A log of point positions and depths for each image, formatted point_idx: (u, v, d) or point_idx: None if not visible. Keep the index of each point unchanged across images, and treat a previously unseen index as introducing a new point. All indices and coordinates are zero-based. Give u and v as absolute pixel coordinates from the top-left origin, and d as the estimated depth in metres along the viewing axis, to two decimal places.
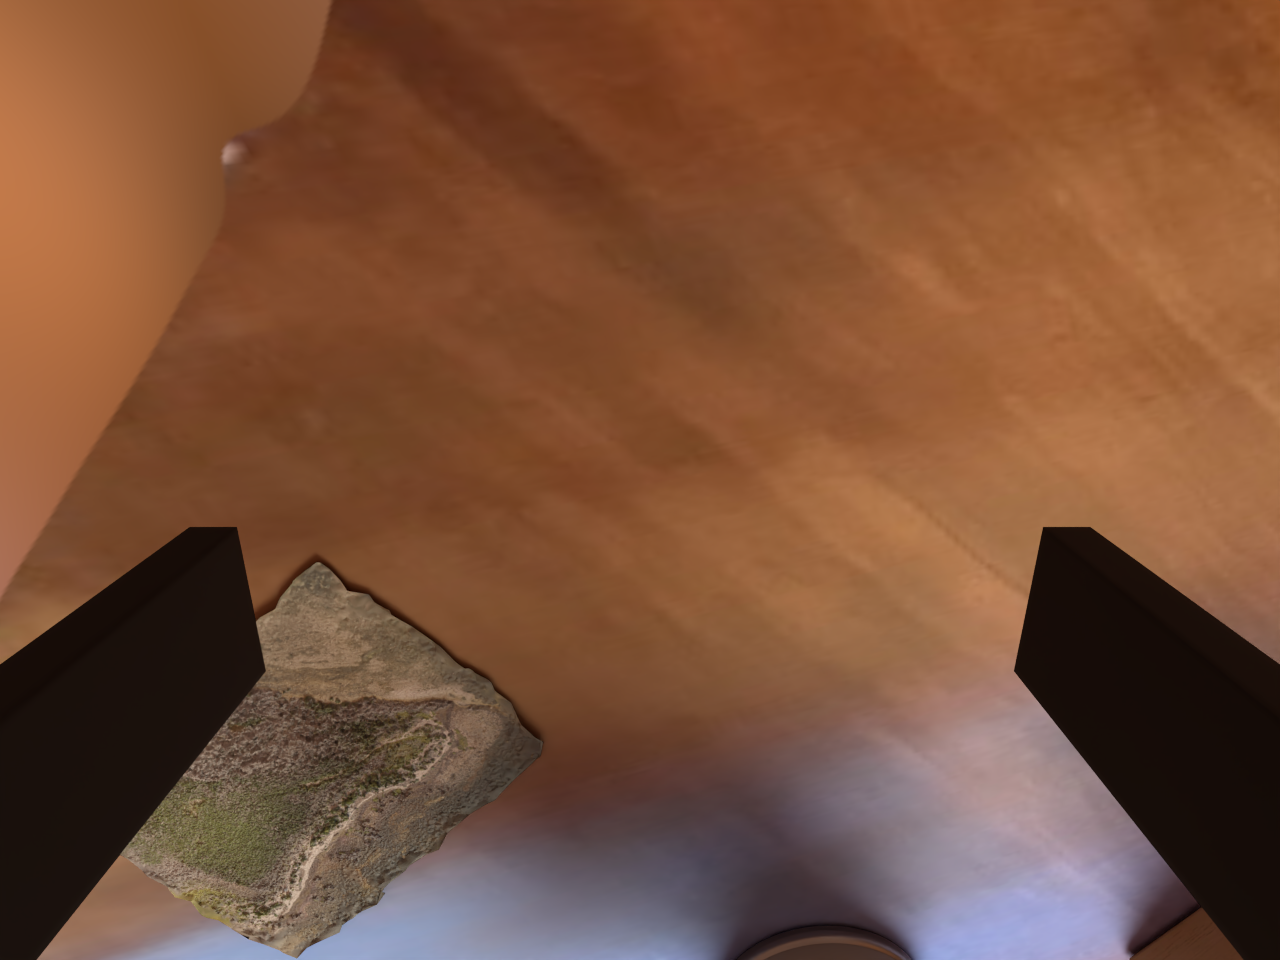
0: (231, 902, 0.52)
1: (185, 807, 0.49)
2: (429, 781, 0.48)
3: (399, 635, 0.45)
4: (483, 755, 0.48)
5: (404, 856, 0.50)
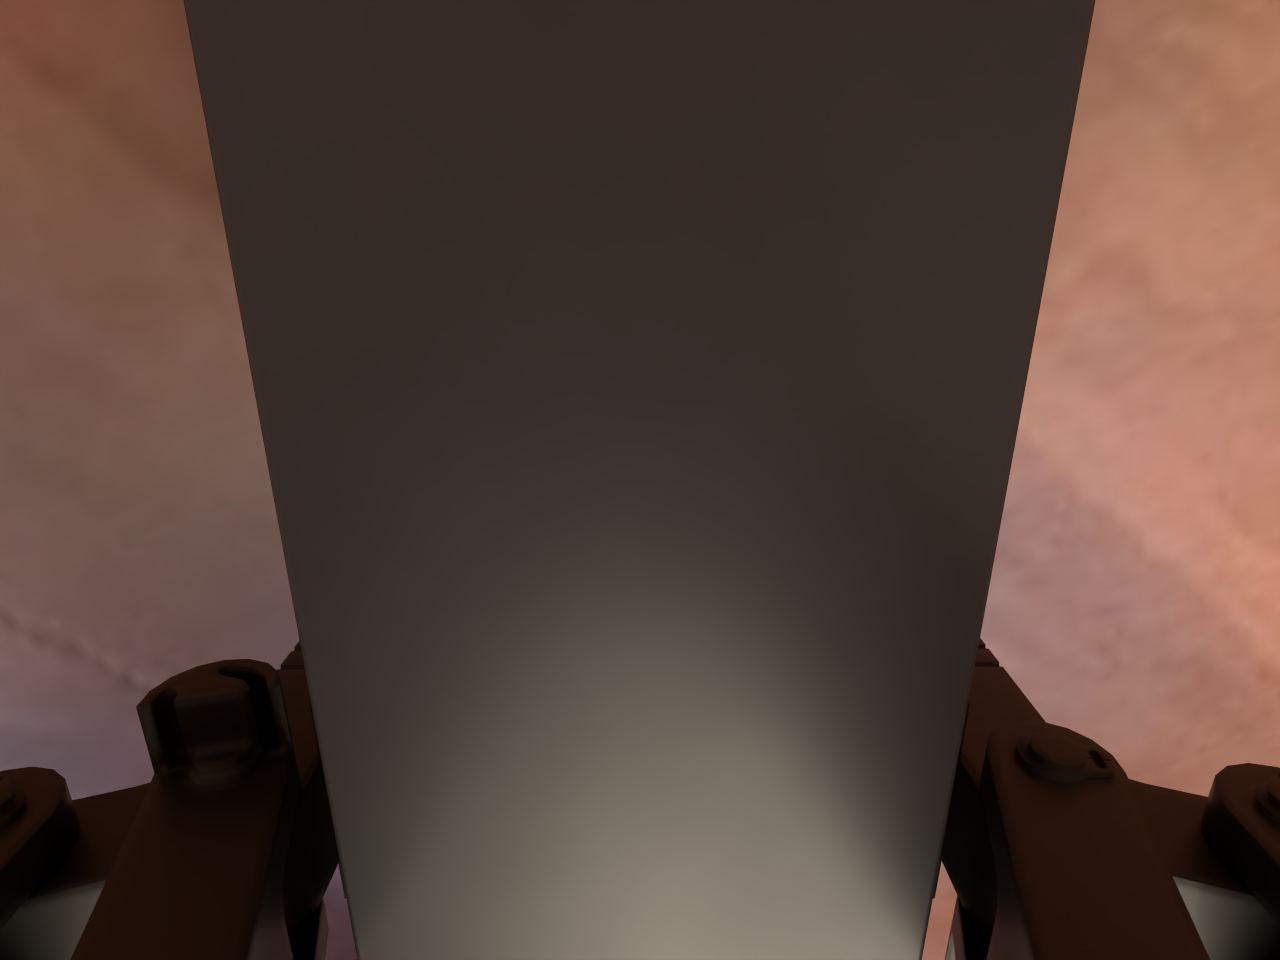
0: None
1: None
2: None
3: None
4: None
5: None
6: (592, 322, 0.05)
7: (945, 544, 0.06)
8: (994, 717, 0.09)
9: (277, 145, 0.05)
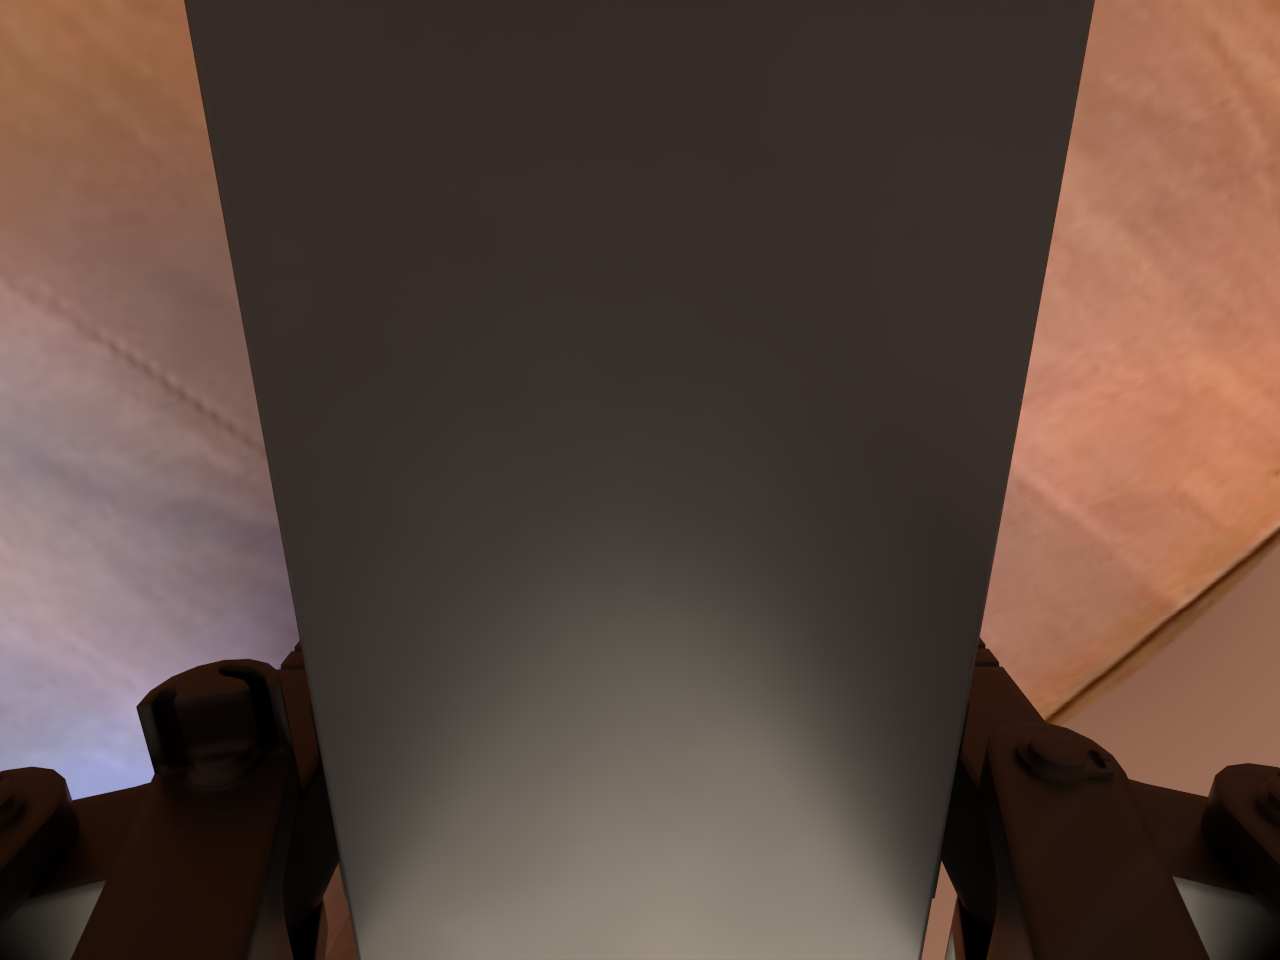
0: None
1: None
2: None
3: None
4: None
5: None
6: (592, 322, 0.05)
7: (945, 543, 0.06)
8: (994, 717, 0.09)
9: (277, 144, 0.05)
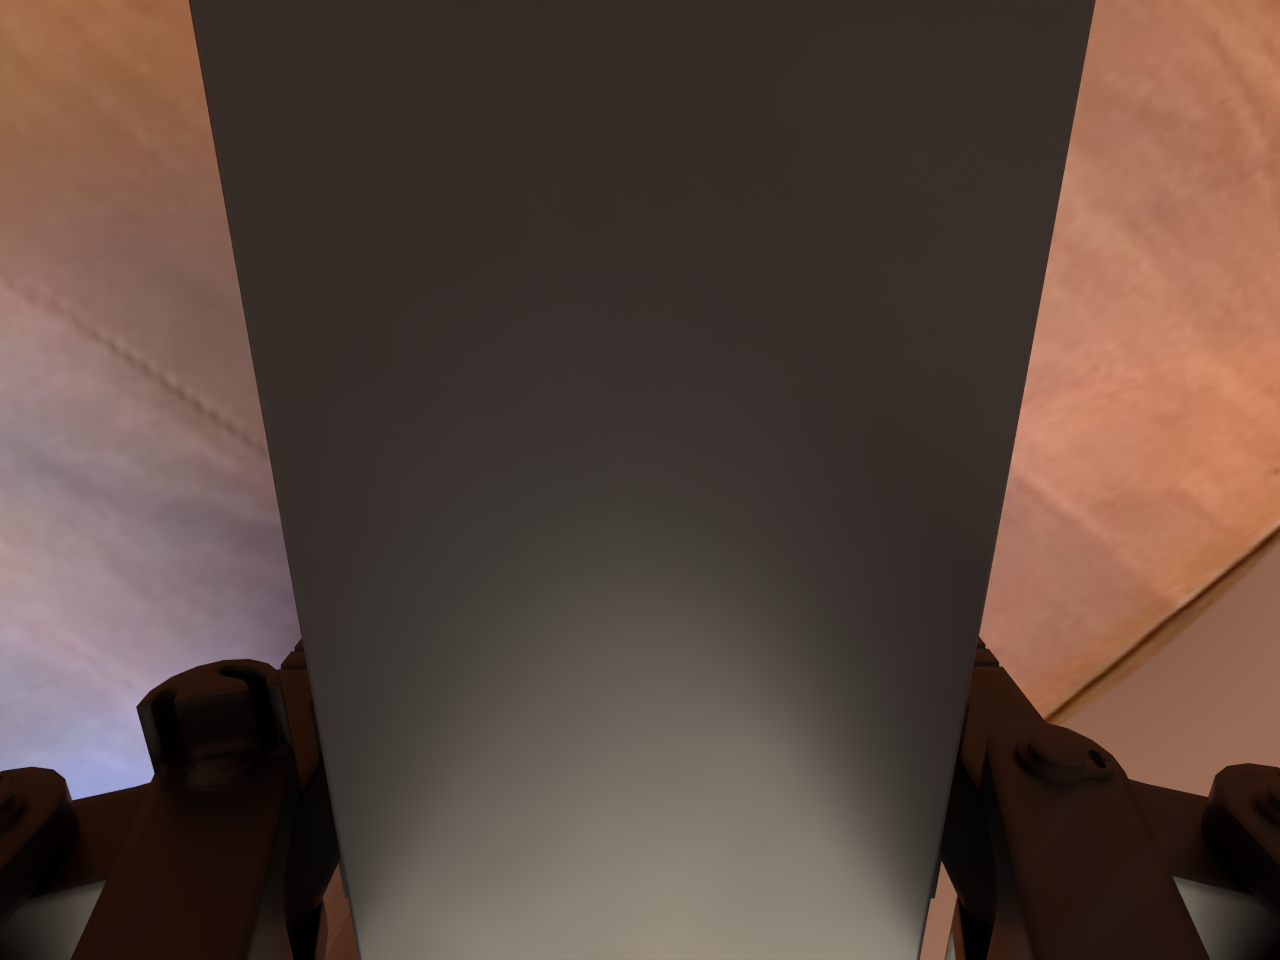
0: None
1: None
2: None
3: None
4: None
5: None
6: (593, 318, 0.05)
7: (945, 542, 0.06)
8: (994, 717, 0.09)
9: (281, 142, 0.05)
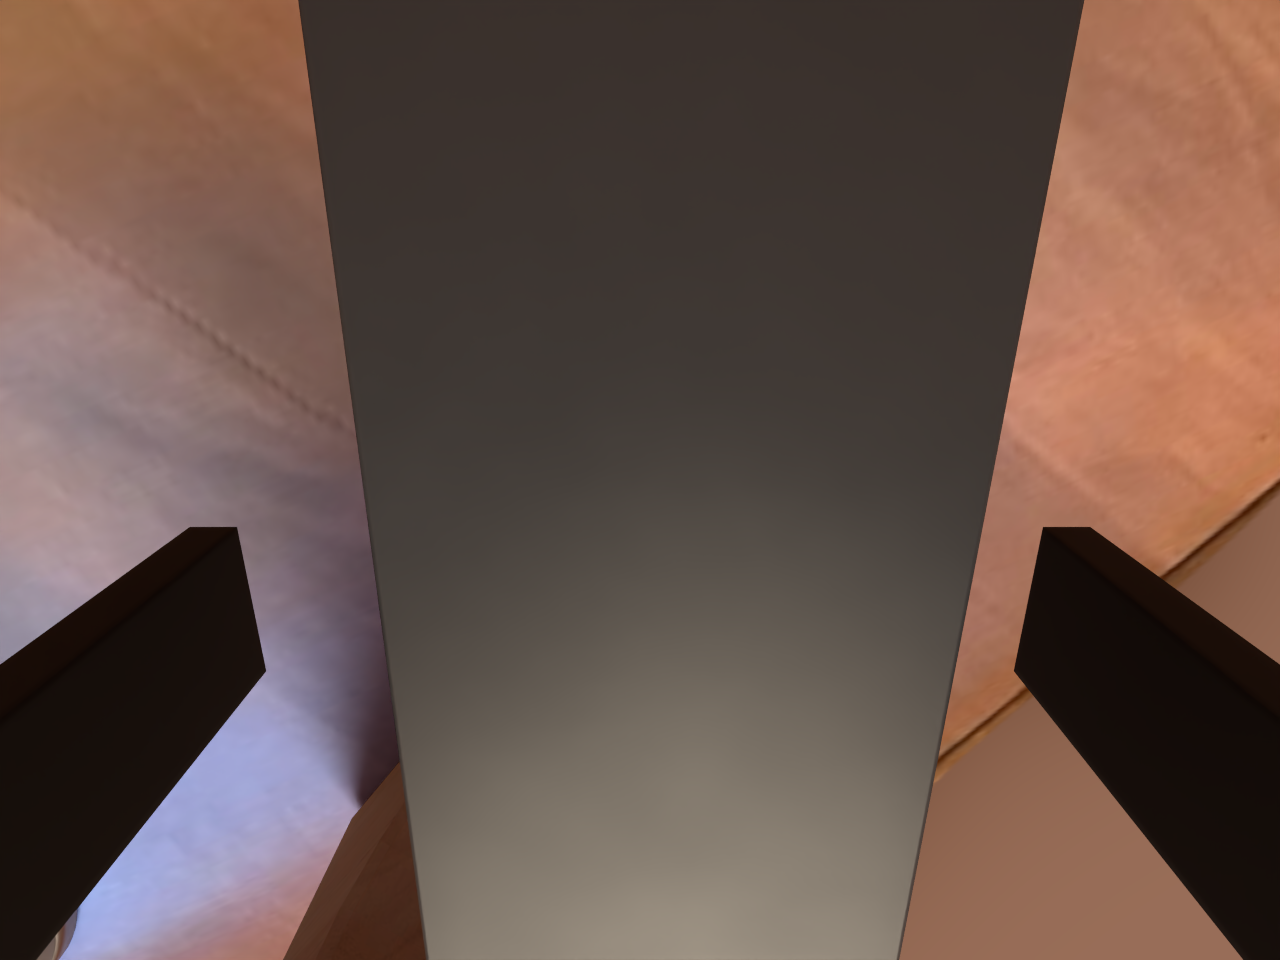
0: None
1: None
2: None
3: None
4: None
5: None
6: (640, 161, 0.05)
7: (962, 385, 0.06)
8: None
9: None
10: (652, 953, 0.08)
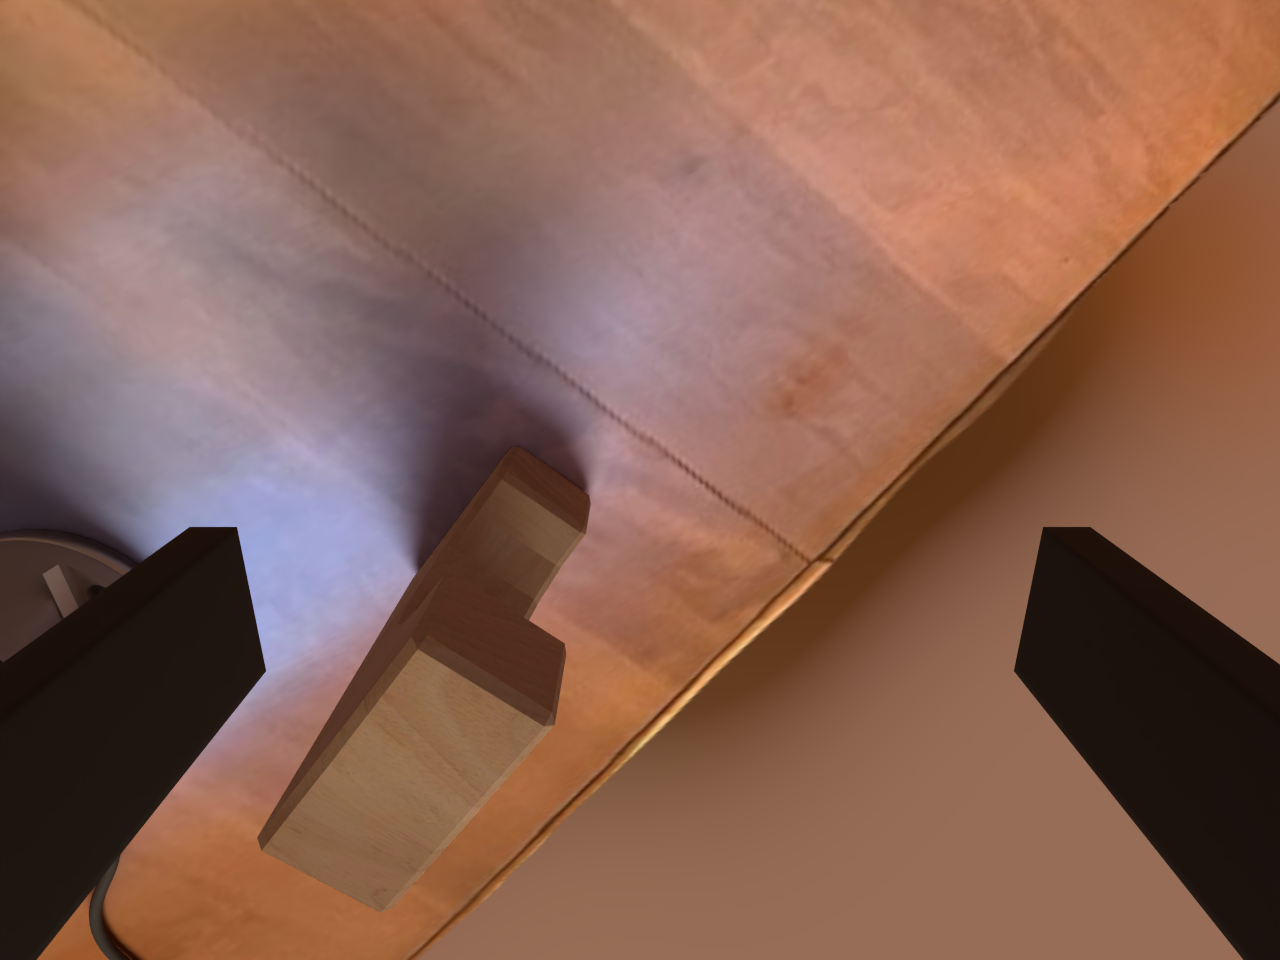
0: None
1: None
2: None
3: None
4: None
5: None
6: None
7: None
8: None
9: None
10: None
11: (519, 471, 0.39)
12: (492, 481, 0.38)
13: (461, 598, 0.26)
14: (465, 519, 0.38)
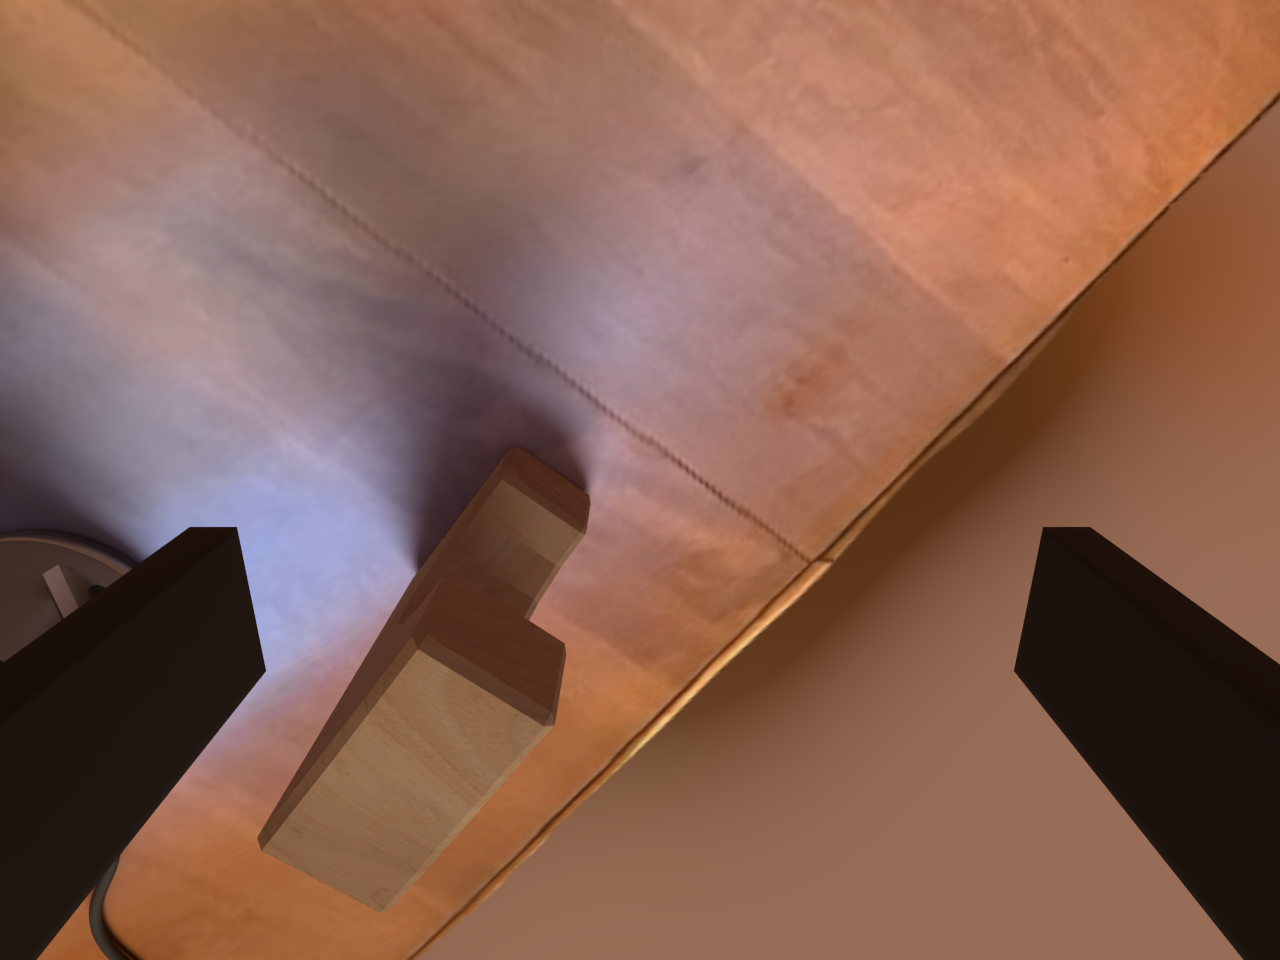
0: None
1: None
2: None
3: None
4: None
5: None
6: None
7: None
8: None
9: None
10: None
11: (519, 471, 0.39)
12: (492, 481, 0.38)
13: (461, 598, 0.26)
14: (465, 519, 0.38)
